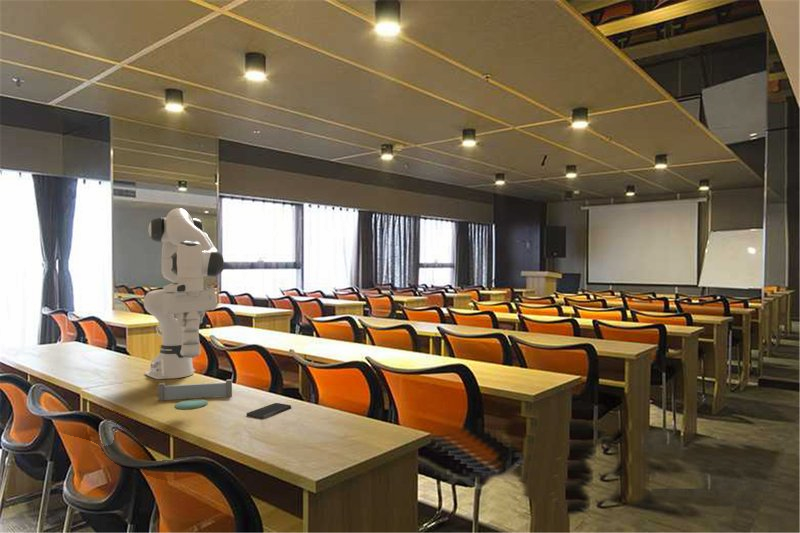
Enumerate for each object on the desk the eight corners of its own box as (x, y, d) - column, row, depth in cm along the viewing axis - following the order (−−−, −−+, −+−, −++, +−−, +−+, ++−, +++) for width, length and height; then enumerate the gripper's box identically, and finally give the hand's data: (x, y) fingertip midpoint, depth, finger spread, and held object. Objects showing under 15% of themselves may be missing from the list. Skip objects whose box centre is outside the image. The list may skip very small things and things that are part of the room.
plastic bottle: (195, 359, 181) (195, 302, 180) (177, 359, 181) (176, 302, 181) (204, 355, 187) (203, 301, 187) (186, 355, 188) (186, 301, 187)
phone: (292, 405, 181) (262, 417, 167) (292, 408, 181) (262, 420, 167) (275, 402, 184) (244, 413, 171) (275, 405, 184) (244, 416, 171)
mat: (168, 406, 182) (168, 405, 182) (194, 399, 192) (194, 398, 192) (187, 411, 177) (187, 410, 177) (214, 403, 186) (214, 402, 186)
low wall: (158, 400, 190) (157, 384, 190) (159, 399, 192) (159, 383, 192) (231, 396, 196) (231, 380, 196) (232, 394, 198) (231, 379, 198)
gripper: (209, 284, 194) (209, 321, 194) (158, 287, 177) (159, 327, 177) (220, 285, 191) (220, 322, 191) (170, 287, 173) (170, 328, 174)
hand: (190, 324), depth 184 cm, fingers closed on plastic bottle, 6 cm apart
